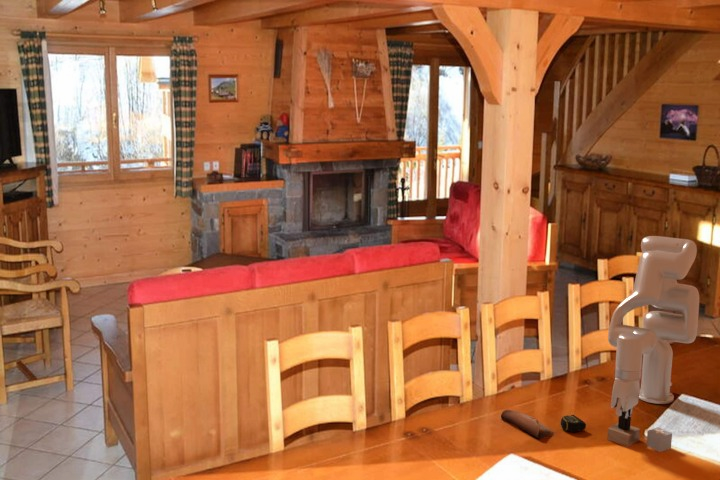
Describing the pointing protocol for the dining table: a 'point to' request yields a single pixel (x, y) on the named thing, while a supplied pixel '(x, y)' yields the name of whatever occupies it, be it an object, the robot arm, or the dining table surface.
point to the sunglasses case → (527, 423)
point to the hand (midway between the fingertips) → (624, 428)
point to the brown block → (623, 435)
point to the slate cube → (659, 439)
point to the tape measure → (572, 423)
